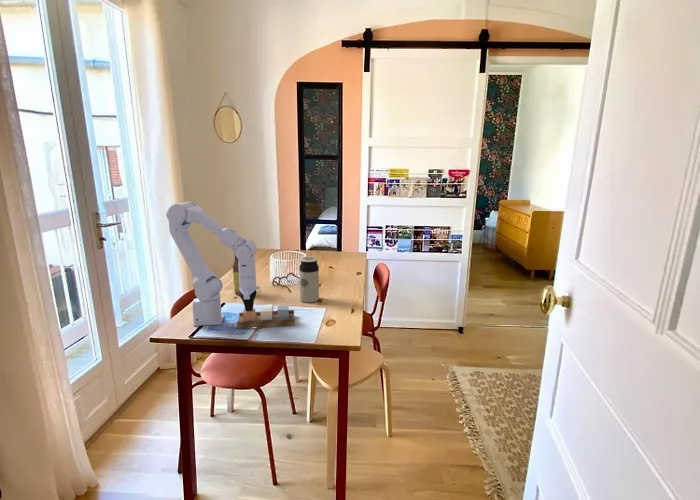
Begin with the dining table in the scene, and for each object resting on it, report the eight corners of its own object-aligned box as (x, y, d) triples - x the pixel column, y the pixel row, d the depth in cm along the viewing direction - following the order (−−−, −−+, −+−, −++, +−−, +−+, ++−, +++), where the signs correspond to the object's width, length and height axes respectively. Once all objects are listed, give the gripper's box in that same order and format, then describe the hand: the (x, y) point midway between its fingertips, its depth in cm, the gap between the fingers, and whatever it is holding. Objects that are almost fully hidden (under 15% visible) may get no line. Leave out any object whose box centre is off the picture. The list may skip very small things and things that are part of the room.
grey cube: (277, 319, 141) (277, 310, 141) (277, 314, 145) (277, 306, 144) (288, 318, 142) (288, 309, 141) (288, 314, 146) (288, 305, 145)
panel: (237, 329, 137) (236, 322, 136) (239, 318, 146) (239, 312, 145) (294, 325, 140) (294, 319, 140) (294, 315, 149) (293, 309, 148)
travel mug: (310, 295, 171) (310, 255, 167) (322, 299, 166) (322, 258, 162) (296, 299, 166) (295, 258, 162) (307, 304, 161) (307, 262, 156)
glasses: (292, 281, 192) (292, 271, 191) (311, 286, 184) (311, 276, 183) (271, 287, 182) (271, 277, 181) (290, 294, 174) (290, 283, 173)
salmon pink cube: (243, 322, 139) (243, 312, 139) (244, 317, 143) (244, 308, 142) (255, 321, 140) (254, 312, 139) (255, 316, 144) (255, 308, 143)
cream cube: (260, 320, 140) (260, 311, 140) (261, 316, 144) (260, 307, 143) (272, 320, 141) (271, 311, 140) (272, 315, 145) (272, 307, 144)
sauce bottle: (251, 293, 173) (249, 249, 168) (239, 296, 168) (236, 252, 164) (243, 290, 177) (241, 247, 172) (231, 293, 173) (228, 249, 168)
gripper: (257, 281, 132) (259, 318, 135) (260, 269, 145) (261, 303, 149) (236, 282, 130) (238, 320, 133) (240, 270, 144) (242, 304, 147)
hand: (249, 311), depth 141 cm, fingers closed, pressing on salmon pink cube
